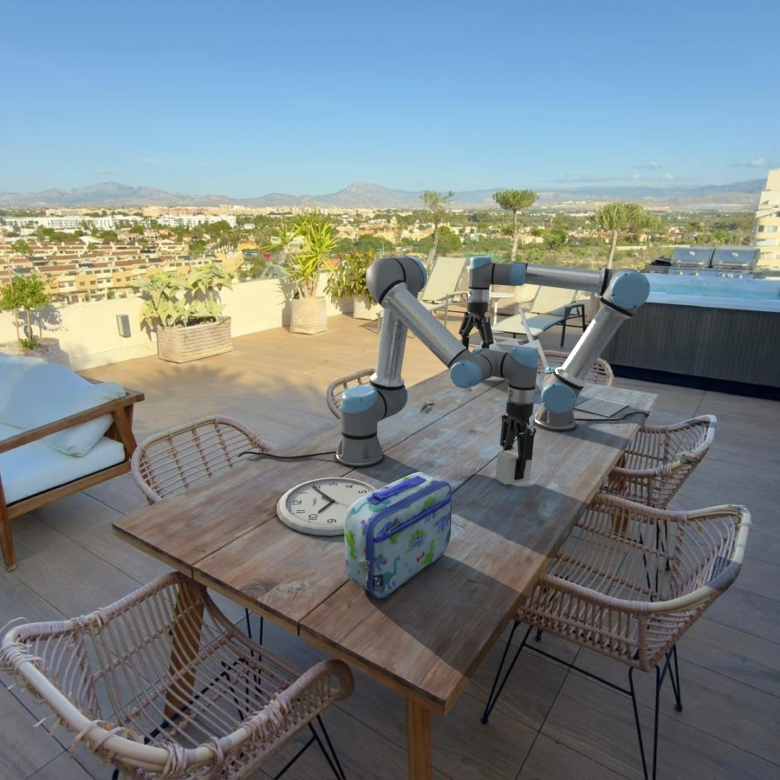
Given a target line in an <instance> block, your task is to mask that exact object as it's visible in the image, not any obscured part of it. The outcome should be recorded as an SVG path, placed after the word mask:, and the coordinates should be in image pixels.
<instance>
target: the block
mask: <svg viewBox="0 0 780 780" xmlns="http://www.w3.org/2000/svg"><path fill="white" fill-rule="evenodd" d="M522 456H523V455H522ZM532 456H534V455H533V453H532ZM517 458H518V448H514V449H511V450H507V451H504V450H503V451H497V457H496V468H495V478H496V479H497V480H498V481H499V482H501V483H502V484H503V485H505V486H507V485H511V484H516V483H521V482H526V481H530V480H531V473H532V472H531V471H532V463H533V459H532V460H527V461H526V467H525V470H524V478H523V479H520V480H515V479H514V477H515V467H516V459H517Z"/></svg>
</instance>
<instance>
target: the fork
mask: <svg viewBox="0 0 780 780" xmlns="http://www.w3.org/2000/svg"><path fill="white" fill-rule="evenodd" d="M434 399H435V396H429V397H428V398H427V399H426V403H425V404H424V405H423V406H422V407H421V409H420V411H423V410H424V409H426V408H427V407H428V405H430V404H433V402H434Z"/></svg>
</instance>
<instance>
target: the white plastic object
mask: <svg viewBox="0 0 780 780" xmlns="http://www.w3.org/2000/svg"><path fill="white" fill-rule="evenodd" d="M518 312H519V315H520V318H521V321H522V324H523V328H524V330H525V333H526V336H527V337H526V338H527V339H528V342H527V343H525V344H519V342H518V341H517V339H516V338H512V339H508V340H503V341H498V342H497V341H496V340H495V338H493V341H494V344H491V345H490V346H489V349H491V350H497V351H503V352H509V353H510V352H511V350H512V348H513V347H517V346H523V347H525V346H526V347H532V348H535V349H536V350H537V351H538V354H539V357H540V359H541V363H542V364H543V368H544V369H545V368H546V367H549V366H550V365H549V363H548V361H547V358H546V355H545V352H544V349H543V346H542V344H541V342H540V339H535V340H534V339H533V335H532V333H531V329H530V326H529V323H528V320H527V318H526V315H525V312H524V311H523V309H522V308H521V307H520V308H518ZM480 340H481V341H480V345H479V348H481V345H482V344H483V342H482V339H480ZM485 342H486V341H485ZM491 378H494V376H492V377H491ZM536 386H537V388H538V389H539V391H540V392H541V391H542V387H543V383H542V381H541V379H540V375H539V372H538V371H537V377H536Z"/></svg>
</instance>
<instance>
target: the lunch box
mask: <svg viewBox="0 0 780 780" xmlns="http://www.w3.org/2000/svg"><path fill="white" fill-rule="evenodd" d="M377 489H378V490H376V491H374V492H372V493H370V494H368V495H366V496H364V497H362V498H360V499H358V500H356V501H355V502H354V503H353V504H352V505H351V506H350V507H349V509H348V511H347V513H346V516H345V520H344V534H343V536H344V537H343V539H344V555H345V556H344V565H345V572H346V576H347V579H348V580H349V581H351V582H353V583H354V584H357V585H359V586H360V587H362V588H363V589H365V590H366V591H368V593H369V594H370V596H373V597H374V598H376V599H385V598H387V597H388V596H390V595H391V594H392V593H393V592H394V591H396V590H397V589H398V588H399V587H400V586H402V585H403V584H405V583H407V582H408V581H409V580H410V579H412V578H414V576H416V575H417V574H418V573H419V572H420V571H421V570H423V569H424V568H426V567H427V566H429V565H431V564H433V563H435V562H436V561H437V560H439V559H440V558H441V557H442V556H443V554H445V552H446V550H447V548H448V546H449V543H450V540H451V535H452V534H451V533H452V515H453V514H452V511H453V510H452V509H453V508H452V507H453V505H452V487H451V484H450V483H449V482H448V481H445V480H438V479H436V478H434V477H432V476H431V475H429V474H427V473H424V472H422V471H417V472H414V473H411V474H409V475H407V476H404V477H401V478H399V479H397V480H395V481H393V482H391V483H388V484H386V485H385V486H383V487H380V488H377Z"/></svg>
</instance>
